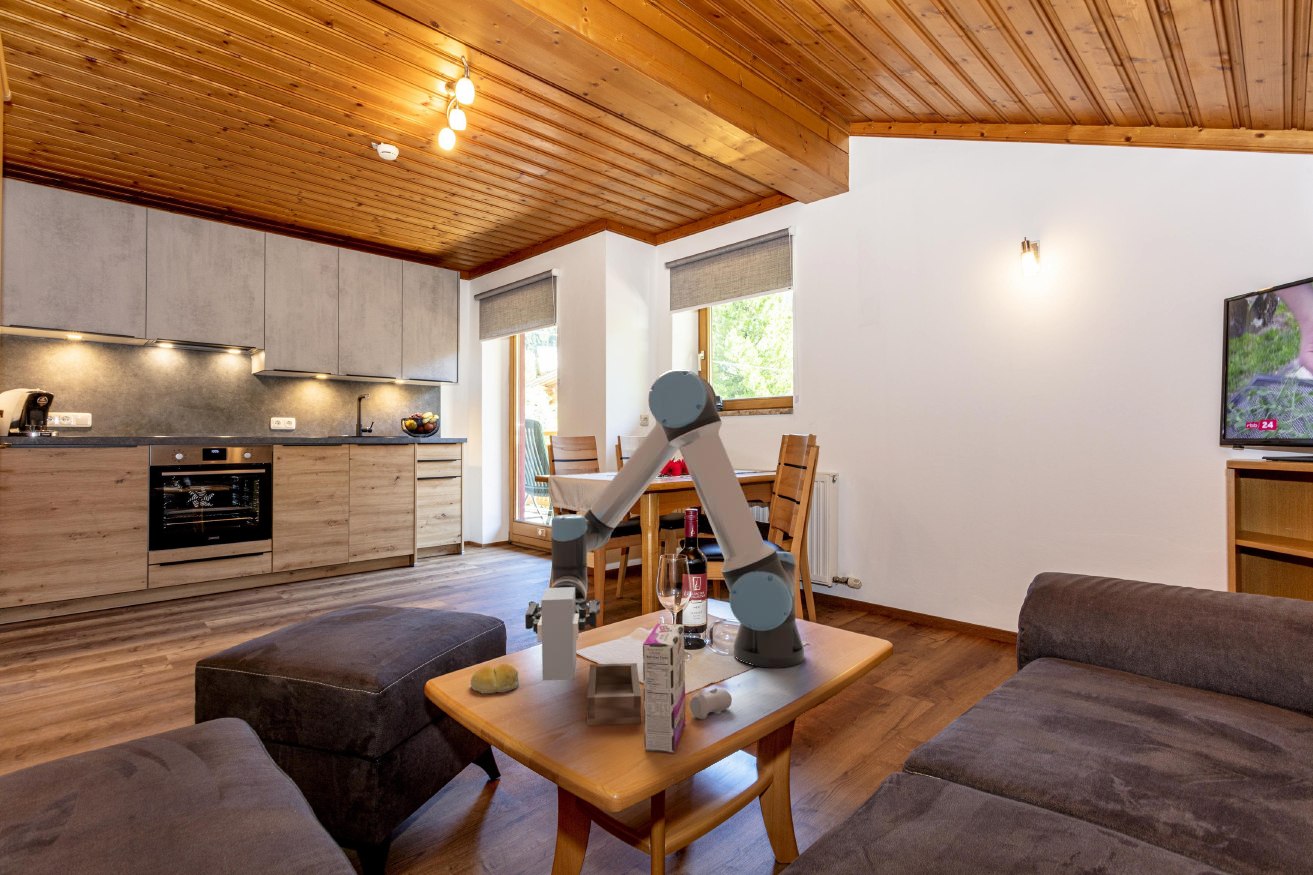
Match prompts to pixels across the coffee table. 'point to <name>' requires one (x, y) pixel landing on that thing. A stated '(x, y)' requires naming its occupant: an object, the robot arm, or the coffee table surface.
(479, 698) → the coffee table surface
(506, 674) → the bread roll
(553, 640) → the grey box
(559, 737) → the coffee table surface
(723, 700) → the pale two-lobed sculpture
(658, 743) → the candy bar box
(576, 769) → the coffee table surface
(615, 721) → the open brown box
